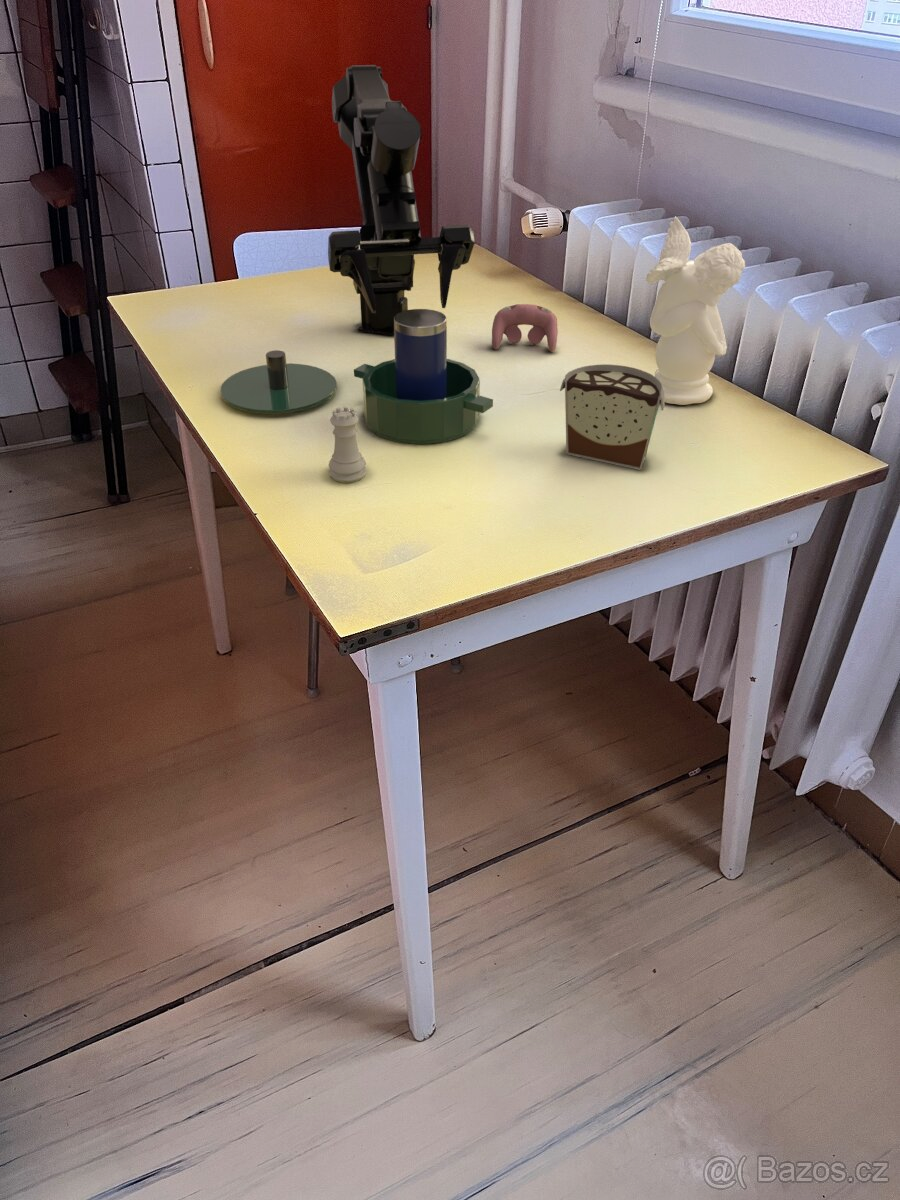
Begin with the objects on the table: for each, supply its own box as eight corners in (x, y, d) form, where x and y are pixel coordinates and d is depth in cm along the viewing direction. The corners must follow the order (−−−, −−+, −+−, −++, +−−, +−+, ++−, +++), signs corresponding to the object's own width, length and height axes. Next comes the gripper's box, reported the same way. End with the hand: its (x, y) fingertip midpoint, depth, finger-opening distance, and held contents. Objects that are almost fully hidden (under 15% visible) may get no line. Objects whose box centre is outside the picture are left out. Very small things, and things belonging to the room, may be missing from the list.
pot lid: (284, 428, 119) (279, 387, 116) (197, 399, 126) (190, 359, 123) (360, 386, 129) (358, 347, 126) (275, 362, 136) (271, 324, 133)
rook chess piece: (337, 487, 107) (332, 423, 102) (323, 470, 110) (317, 407, 105) (373, 478, 108) (370, 415, 104) (358, 462, 112) (354, 400, 107)
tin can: (386, 413, 122) (382, 316, 114) (425, 399, 125) (423, 305, 117) (417, 430, 118) (416, 331, 110) (456, 416, 121) (457, 318, 113)
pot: (455, 461, 112) (455, 418, 109) (326, 419, 121) (323, 379, 118) (516, 417, 122) (518, 377, 119) (393, 382, 131) (391, 344, 128)
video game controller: (555, 354, 143) (559, 306, 142) (556, 351, 139) (559, 302, 138) (491, 351, 144) (494, 304, 143) (490, 348, 139) (492, 300, 138)
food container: (666, 450, 115) (679, 373, 109) (653, 472, 110) (665, 393, 104) (571, 431, 119) (578, 355, 113) (554, 451, 114) (561, 374, 108)
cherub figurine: (731, 401, 126) (764, 232, 113) (658, 421, 121) (684, 246, 108) (672, 370, 135) (696, 209, 121) (602, 387, 130) (620, 222, 117)
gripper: (453, 228, 132) (469, 331, 130) (321, 235, 129) (335, 341, 127) (466, 181, 122) (483, 293, 119) (322, 187, 118) (338, 302, 116)
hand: (409, 309), depth 121 cm, fingers open, 9 cm apart
